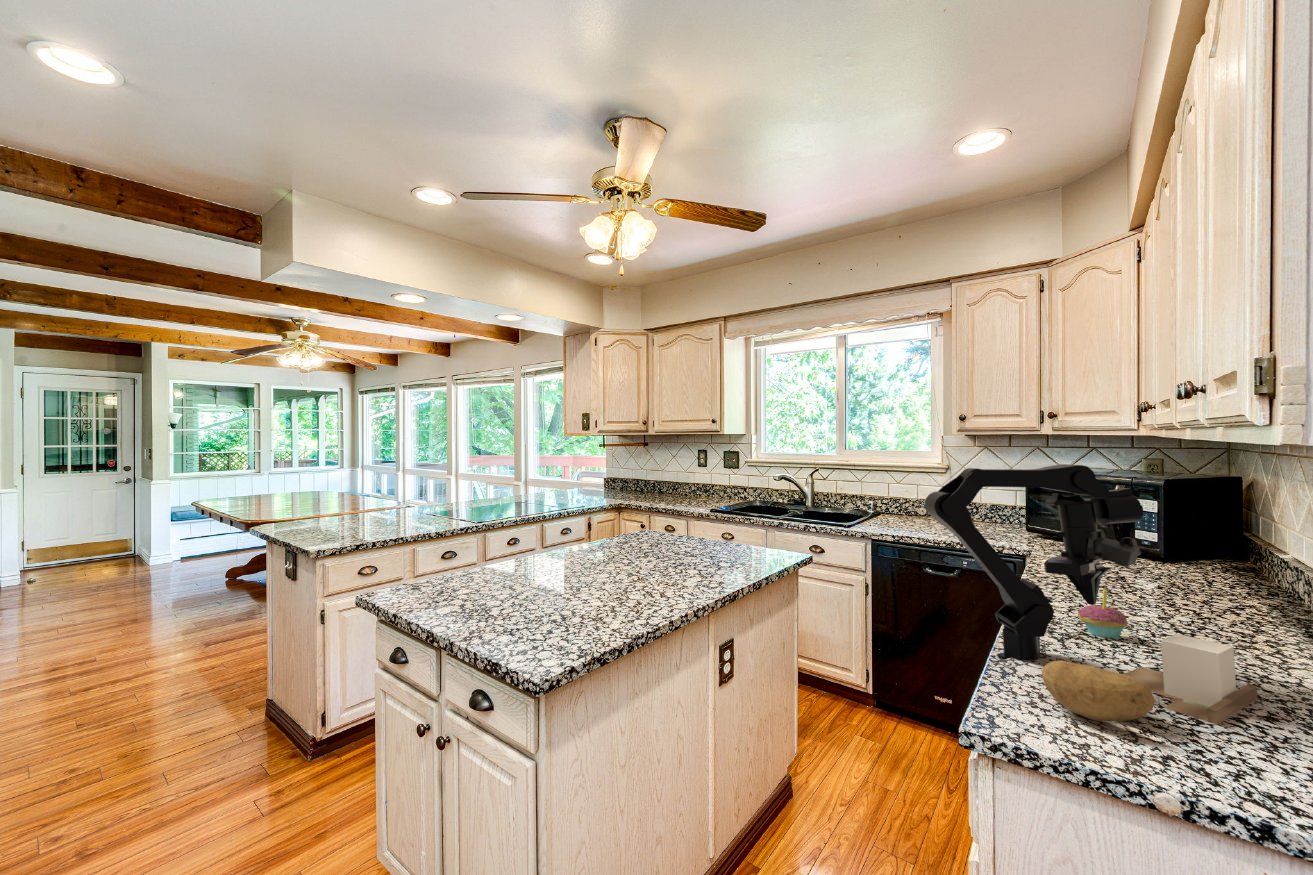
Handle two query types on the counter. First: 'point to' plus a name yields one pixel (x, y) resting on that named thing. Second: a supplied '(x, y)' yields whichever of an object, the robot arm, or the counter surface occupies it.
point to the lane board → (1209, 714)
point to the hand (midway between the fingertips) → (1091, 604)
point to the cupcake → (1103, 619)
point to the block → (1197, 669)
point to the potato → (1097, 692)
